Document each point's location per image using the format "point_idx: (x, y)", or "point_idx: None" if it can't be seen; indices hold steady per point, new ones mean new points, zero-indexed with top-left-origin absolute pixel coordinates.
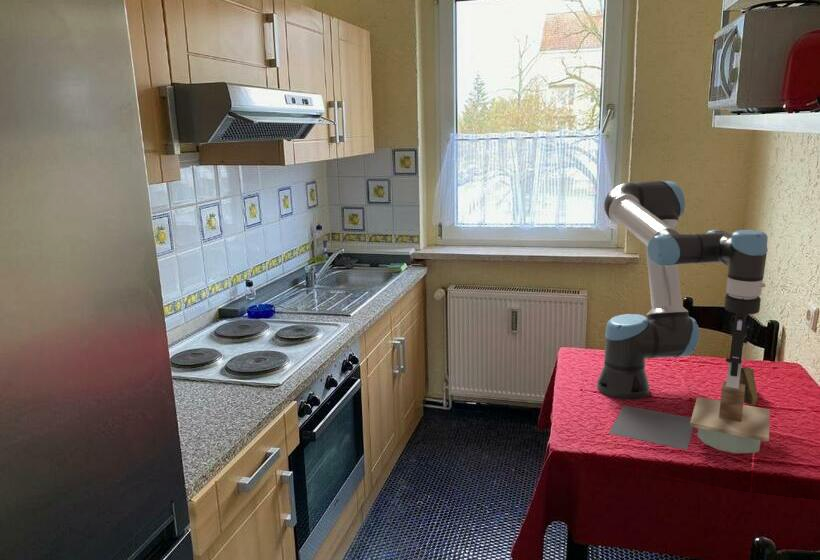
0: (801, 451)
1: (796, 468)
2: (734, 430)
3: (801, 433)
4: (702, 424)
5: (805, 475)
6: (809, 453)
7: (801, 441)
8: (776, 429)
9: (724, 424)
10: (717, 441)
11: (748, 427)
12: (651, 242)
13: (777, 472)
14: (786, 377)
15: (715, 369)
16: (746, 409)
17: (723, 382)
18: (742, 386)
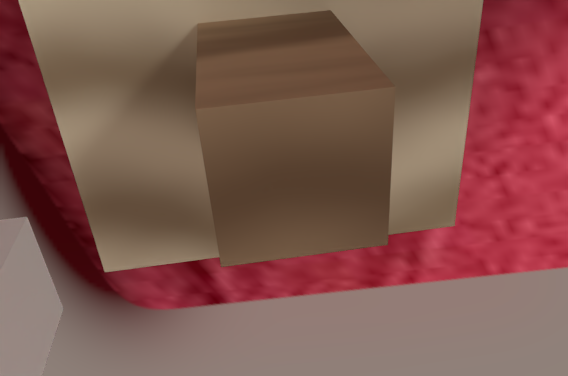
0: (312, 267)
1: (167, 271)
2: (70, 133)
3: (463, 250)
4: None
5: (133, 296)
6: (310, 285)
7: (395, 257)
8: (468, 181)
9: (116, 71)
10: None
11: (164, 183)
12: None
13: (89, 231)
14: None
15: None
16: (405, 139)
17: (361, 95)
18: (335, 235)
